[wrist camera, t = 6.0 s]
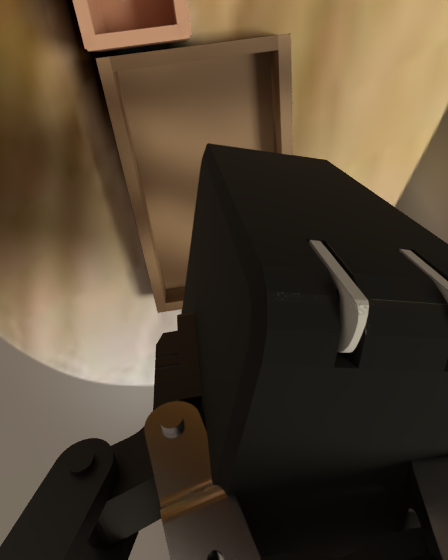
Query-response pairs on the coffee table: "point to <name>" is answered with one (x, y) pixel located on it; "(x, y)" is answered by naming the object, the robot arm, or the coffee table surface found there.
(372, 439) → the electronic device
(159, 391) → the robot arm
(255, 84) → the trough
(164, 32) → the orange open cube box
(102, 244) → the coffee table surface
